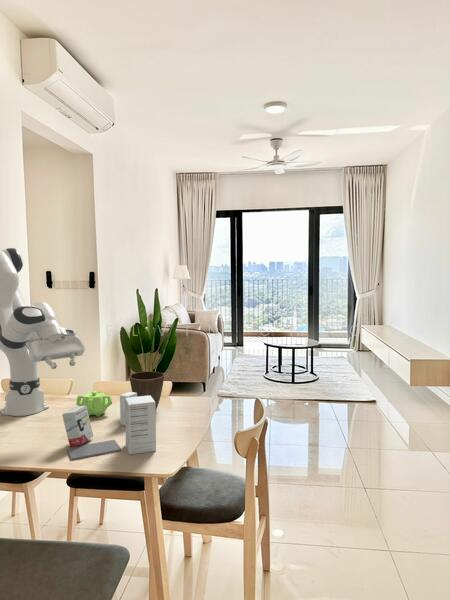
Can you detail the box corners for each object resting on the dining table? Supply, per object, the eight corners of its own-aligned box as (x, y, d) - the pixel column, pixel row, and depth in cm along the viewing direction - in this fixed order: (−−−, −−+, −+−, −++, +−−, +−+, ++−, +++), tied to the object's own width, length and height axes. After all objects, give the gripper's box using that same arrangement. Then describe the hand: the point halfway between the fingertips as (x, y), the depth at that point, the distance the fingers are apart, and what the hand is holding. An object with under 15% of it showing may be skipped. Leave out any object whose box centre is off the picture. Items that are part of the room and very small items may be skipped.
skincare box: (129, 420, 172) (129, 391, 172) (137, 421, 170) (137, 392, 170) (119, 424, 167) (119, 395, 166) (128, 426, 165) (128, 396, 164)
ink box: (81, 445, 143) (73, 411, 143) (69, 447, 144) (61, 414, 144) (94, 436, 152) (86, 404, 152) (82, 438, 153) (74, 406, 153)
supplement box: (156, 451, 141) (156, 402, 140) (128, 455, 138) (128, 404, 137) (151, 440, 150) (151, 394, 149) (125, 444, 147) (124, 397, 146)
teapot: (113, 414, 180) (113, 391, 179) (88, 420, 171) (88, 397, 171) (99, 408, 188) (99, 386, 187) (75, 414, 180) (74, 391, 179)
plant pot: (152, 418, 174) (152, 380, 173) (122, 414, 179) (122, 377, 178) (170, 408, 188) (170, 373, 187) (142, 404, 193) (141, 370, 192)
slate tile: (67, 449, 142) (67, 447, 142) (114, 441, 150) (114, 439, 150) (71, 460, 134) (71, 458, 134) (121, 450, 142) (121, 449, 142)
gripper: (26, 335, 153) (37, 365, 147) (79, 330, 168) (91, 357, 162) (22, 345, 157) (33, 375, 150) (74, 339, 171) (86, 367, 165)
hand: (64, 366), depth 156 cm, fingers open, 6 cm apart
